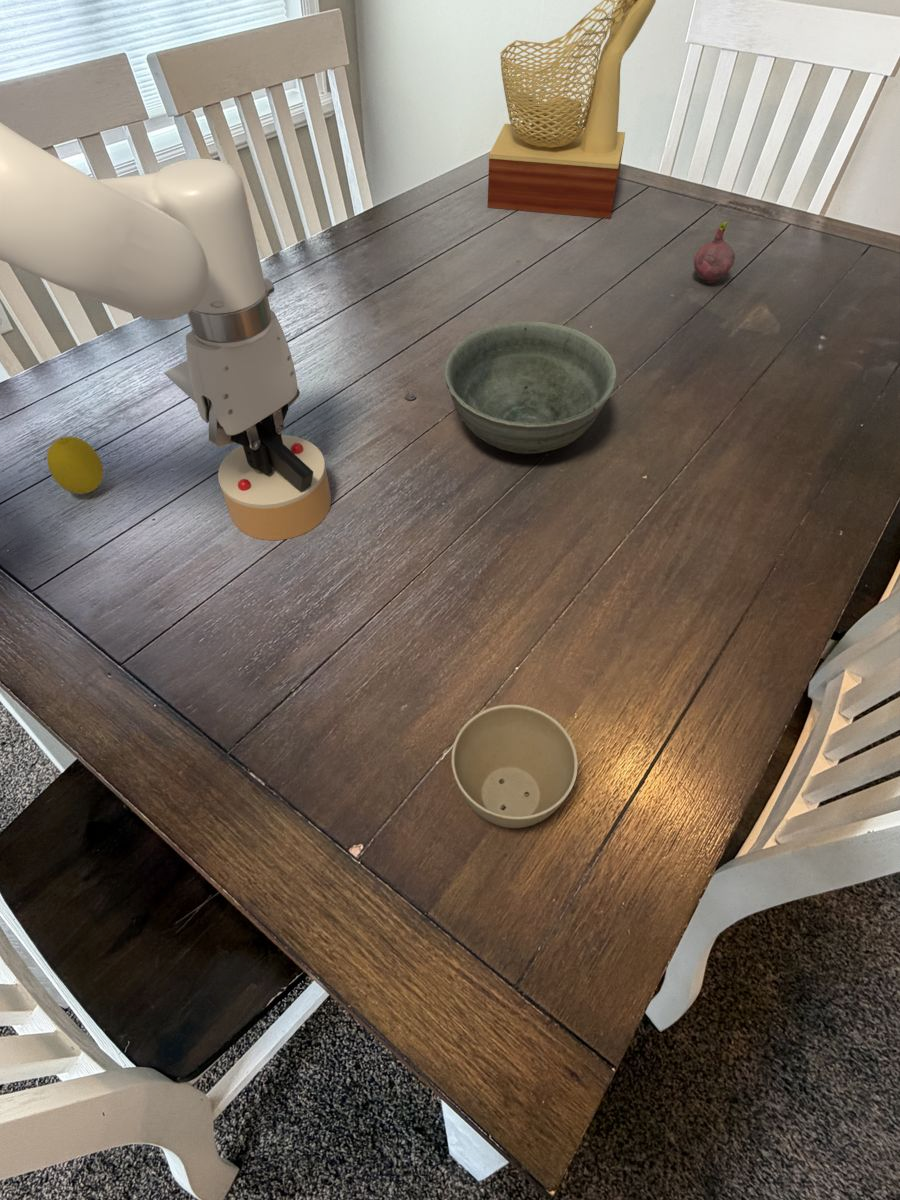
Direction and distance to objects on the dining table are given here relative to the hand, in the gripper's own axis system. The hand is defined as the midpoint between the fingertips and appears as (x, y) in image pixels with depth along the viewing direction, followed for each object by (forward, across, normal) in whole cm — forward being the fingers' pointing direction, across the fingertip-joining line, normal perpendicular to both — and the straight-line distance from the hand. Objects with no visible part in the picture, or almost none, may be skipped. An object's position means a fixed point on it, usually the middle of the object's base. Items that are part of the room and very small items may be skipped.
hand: (268, 464), depth 83 cm
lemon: (+6, +13, -20) cm, 24 cm away
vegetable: (+6, -80, +16) cm, 82 cm away
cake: (+6, 0, 0) cm, 6 cm away
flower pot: (+6, +13, +44) cm, 46 cm away
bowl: (+6, -29, +15) cm, 33 cm away
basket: (+6, -93, -22) cm, 96 cm away
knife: (-3, 0, -3) cm, 4 cm away
